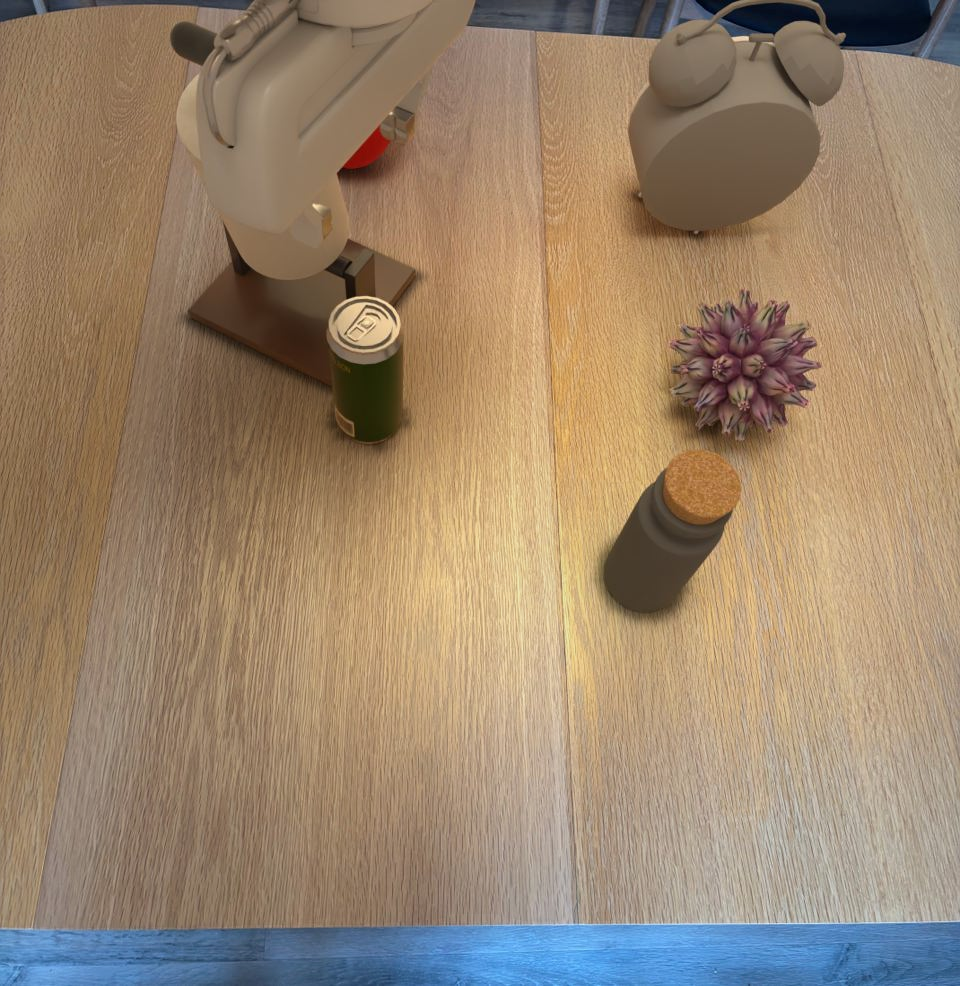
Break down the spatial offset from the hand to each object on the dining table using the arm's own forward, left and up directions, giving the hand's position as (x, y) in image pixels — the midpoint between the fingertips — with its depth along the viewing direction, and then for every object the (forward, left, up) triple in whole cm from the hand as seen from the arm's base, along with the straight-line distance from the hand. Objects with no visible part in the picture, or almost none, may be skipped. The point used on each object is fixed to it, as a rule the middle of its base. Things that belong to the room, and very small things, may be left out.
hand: (357, 183), depth 48 cm
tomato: (-18, +26, -24) cm, 40 cm away
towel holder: (-11, +1, -9) cm, 14 cm away
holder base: (-11, +8, -24) cm, 28 cm away
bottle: (+25, -2, -24) cm, 35 cm away
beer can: (0, 0, -24) cm, 24 cm away
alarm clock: (+15, +36, -24) cm, 46 cm away
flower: (+25, +16, -24) cm, 38 cm away
